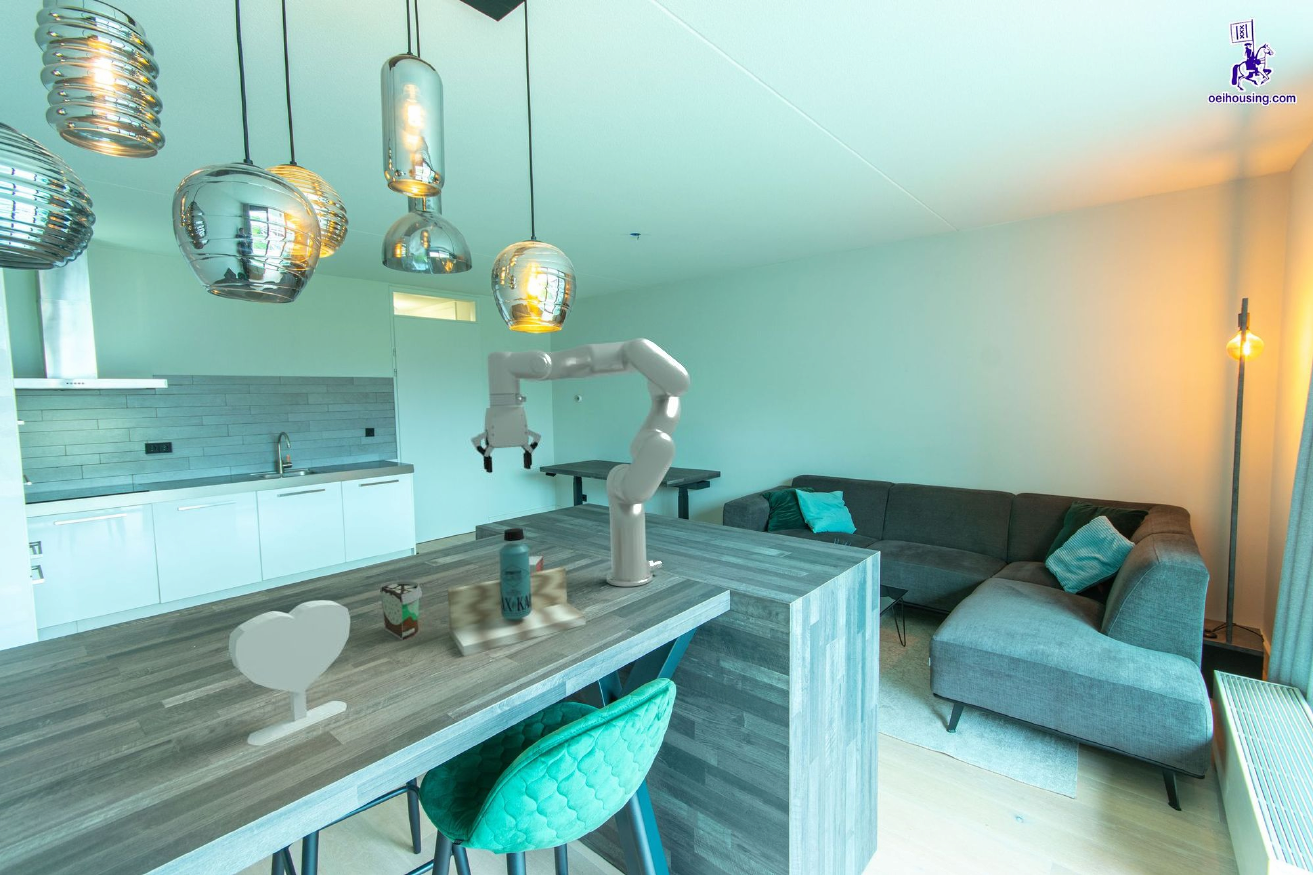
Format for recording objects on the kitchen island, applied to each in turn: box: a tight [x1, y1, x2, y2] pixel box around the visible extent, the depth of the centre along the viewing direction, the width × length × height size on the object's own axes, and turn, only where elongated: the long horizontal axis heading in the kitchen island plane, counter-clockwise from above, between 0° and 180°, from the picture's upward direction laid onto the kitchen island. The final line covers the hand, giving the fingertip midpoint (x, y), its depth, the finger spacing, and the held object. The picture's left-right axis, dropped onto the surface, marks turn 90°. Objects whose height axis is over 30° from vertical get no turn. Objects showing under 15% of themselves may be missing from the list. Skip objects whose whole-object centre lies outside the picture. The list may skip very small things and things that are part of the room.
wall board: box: [447, 566, 587, 657], centre depth 121 cm, size 26×12×10 cm, turn 122°
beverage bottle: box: [498, 527, 532, 619], centre depth 120 cm, size 6×7×20 cm
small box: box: [529, 555, 545, 573], centre depth 137 cm, size 8×6×10 cm
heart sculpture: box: [227, 599, 351, 747], centre depth 87 cm, size 16×5×18 cm, turn 140°
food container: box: [379, 580, 423, 641], centre depth 123 cm, size 12×6×10 cm, turn 47°
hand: (508, 470), depth 140 cm, fingers open, 9 cm apart
